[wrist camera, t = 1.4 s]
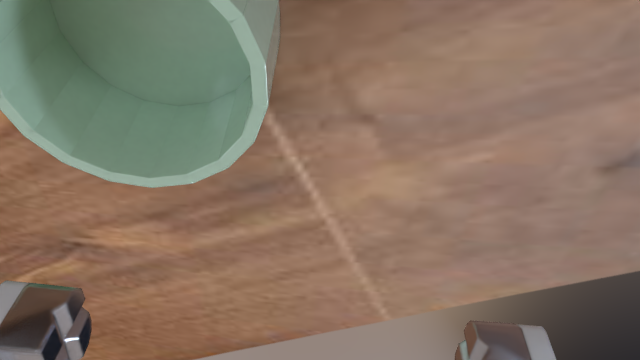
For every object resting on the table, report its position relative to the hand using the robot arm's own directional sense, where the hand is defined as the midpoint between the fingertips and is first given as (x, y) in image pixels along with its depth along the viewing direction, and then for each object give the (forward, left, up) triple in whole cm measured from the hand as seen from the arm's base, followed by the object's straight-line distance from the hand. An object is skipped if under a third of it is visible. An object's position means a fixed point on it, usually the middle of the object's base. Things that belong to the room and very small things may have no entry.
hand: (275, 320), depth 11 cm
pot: (+5, -9, -25) cm, 27 cm away
